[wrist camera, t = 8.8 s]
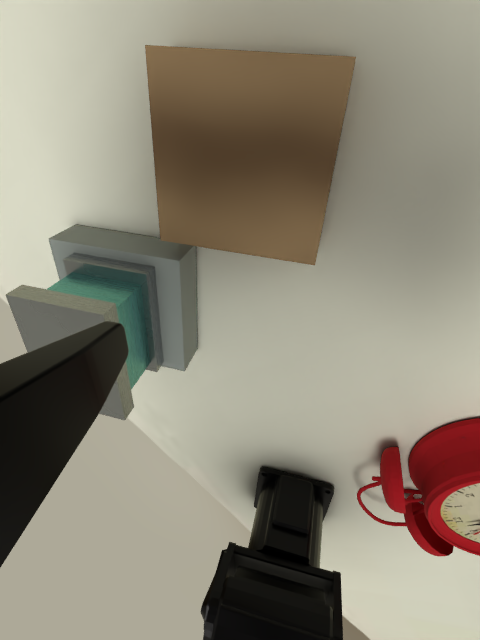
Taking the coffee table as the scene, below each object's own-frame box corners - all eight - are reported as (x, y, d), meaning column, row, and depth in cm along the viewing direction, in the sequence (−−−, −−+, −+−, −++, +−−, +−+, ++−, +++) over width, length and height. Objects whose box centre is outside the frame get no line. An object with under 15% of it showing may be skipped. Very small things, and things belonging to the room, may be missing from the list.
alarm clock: (667, 558, 20) (414, 616, 25) (580, 468, 26) (387, 529, 30) (628, 443, 17) (343, 536, 21) (537, 368, 22) (328, 455, 27)
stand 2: (318, 245, 19) (314, 265, 17) (179, 224, 20) (160, 240, 18) (355, 60, 14) (355, 56, 12) (171, 50, 16) (145, 45, 14)
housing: (154, 266, 19) (103, 315, 15) (163, 362, 23) (125, 420, 19) (74, 252, 20) (5, 294, 16) (96, 346, 24) (45, 399, 20)
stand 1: (197, 348, 25) (184, 371, 23) (98, 326, 26) (77, 346, 24) (195, 243, 21) (179, 261, 19) (76, 224, 22) (48, 238, 20)
